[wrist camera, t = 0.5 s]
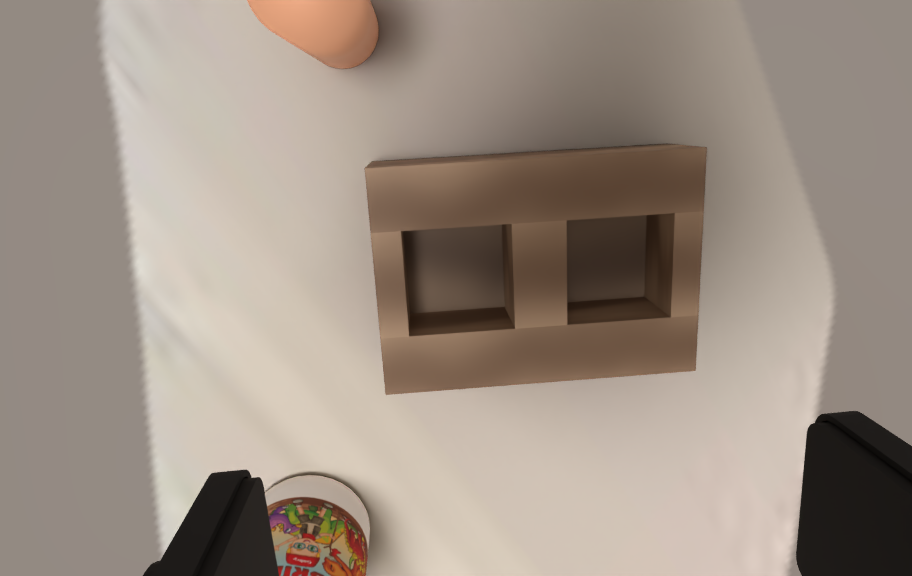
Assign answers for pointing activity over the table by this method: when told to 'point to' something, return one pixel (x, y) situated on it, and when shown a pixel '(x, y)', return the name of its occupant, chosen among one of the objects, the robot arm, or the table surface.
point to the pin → (323, 27)
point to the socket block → (537, 265)
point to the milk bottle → (318, 527)
